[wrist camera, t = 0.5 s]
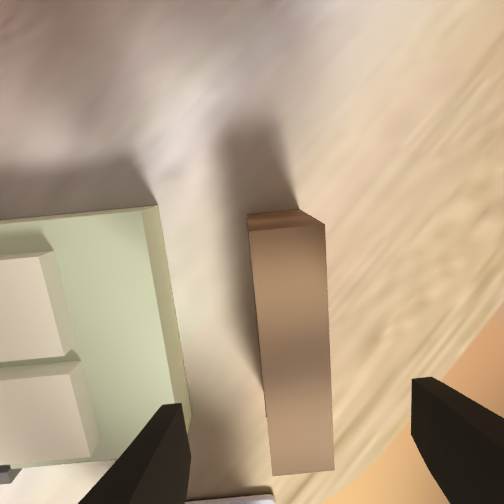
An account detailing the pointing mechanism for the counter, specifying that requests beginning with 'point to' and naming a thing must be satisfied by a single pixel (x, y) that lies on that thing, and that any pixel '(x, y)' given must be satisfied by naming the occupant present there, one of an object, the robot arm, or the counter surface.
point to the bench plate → (112, 316)
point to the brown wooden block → (293, 338)
